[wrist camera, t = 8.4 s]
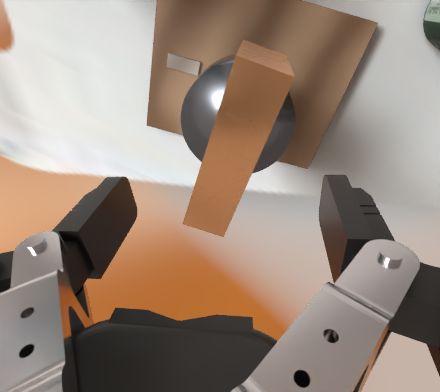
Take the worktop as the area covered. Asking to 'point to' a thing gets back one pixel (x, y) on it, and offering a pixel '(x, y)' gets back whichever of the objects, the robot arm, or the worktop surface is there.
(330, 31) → the stand
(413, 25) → the worktop surface
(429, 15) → the coffee jar
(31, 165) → the worktop surface
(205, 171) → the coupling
